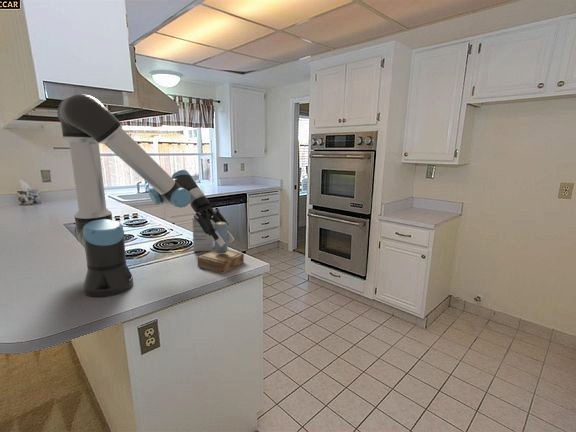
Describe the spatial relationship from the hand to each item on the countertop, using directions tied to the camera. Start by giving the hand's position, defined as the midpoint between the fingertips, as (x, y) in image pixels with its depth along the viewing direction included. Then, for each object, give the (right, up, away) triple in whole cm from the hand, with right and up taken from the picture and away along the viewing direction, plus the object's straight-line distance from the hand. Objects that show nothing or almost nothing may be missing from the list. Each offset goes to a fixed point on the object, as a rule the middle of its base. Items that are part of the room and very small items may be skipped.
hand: (227, 243), depth 127 cm
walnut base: (-4, -10, +4) cm, 11 cm away
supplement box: (-16, -5, +22) cm, 28 cm away
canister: (-3, -4, +3) cm, 6 cm away
